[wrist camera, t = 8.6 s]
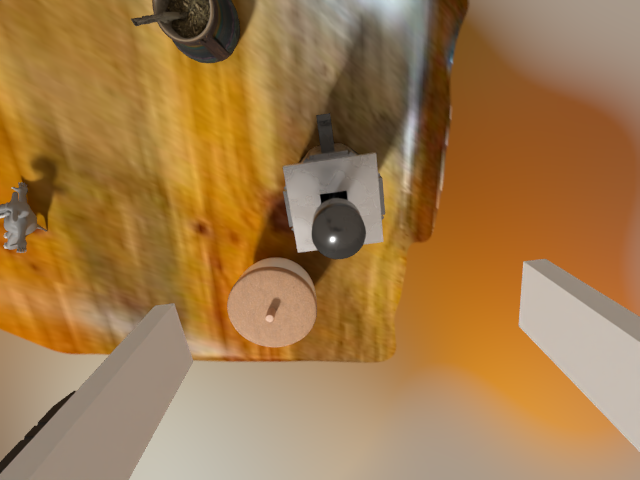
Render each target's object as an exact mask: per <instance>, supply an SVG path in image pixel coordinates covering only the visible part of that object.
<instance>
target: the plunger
mask: <svg viewBox="0 0 640 480" xmlns="http://www.w3.org/2000/svg"><path fill="white" fill-rule="evenodd" d="M320 197H321V205H320V206H319V207H318V208H317V210H316V211H315V213H314V217H313V224H312V241H313V243H314V245H315V247H316V248H317V250H318V251H319V252H320V253H321V254H323V255H324V256H326V257H329V258H332V259H344V258H348V257H350V256H352V255H354V254H355V253H357V252H358V251H359V250H360V248H361V247H362V246H363V244H364V241H365V238H366V229H365V225H364V222H363V220H362V217H361V215H360V212H359V210H358V209H357V207H356V206H355V205H354V204H353V203H351V202H350V201H348V200H347V192H346V191H340V192H333V193H325V194H320Z"/></svg>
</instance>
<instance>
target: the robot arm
mask: <svg viewBox="0 0 640 480" xmlns="http://www.w3.org/2000/svg"><path fill="white" fill-rule="evenodd" d="M519 327H520V328H521V329H522V330H523V331H524V332H525V333H526V334H527V335H528V336H529V337H530V338H531V339H532V340H533V341H534V342H535V343H536V344H537V345H538V346H539V347H540V349H542V351H544V353H545V354H546V355H547V356H548V357H549V358H550V359H551V360H552V361H553V362H554V363H555V364H556V365H557V366H558V367H559V368H560V369H561V370H562V371H563V372H564V373H565V375H566V376H567V377H568V378H569V379H570V380H571V381H572V382H573V383H574V384H575V385H576V386H577V387H578V388H579V389H580V390H581V391H582V392H583V393H584V394H585V395H586V396H587V397H588V398H589V399H590V401H592V403H593V404H594V405H595V406H596V407H597V408H598V409H599V410H600V411H601V412H602V413H603V414H604V415H605V416H606V417H607V418H608V419H609V420H610V421H611V422H612V424H613V425H615V427H616V428H617V429H618V430H619V431H620V432H621V433H622V434H623V435H624V436H625V437H626V438H627V439H628V440H629V441H630V442H631V443H632V444H633V445H634V446H635V447H636V448H637V449H638V451H639V452H640V317H639V316H637V315H636V314H634V313H632V312H631V311H629V310H628V309H626V308H624V307H623V306H621V305H619V304H618V303H616V302H615V301H613V300H611V299H610V298H608V297H607V296H605V295H603V294H602V293H600V292H598V291H597V290H595V289H594V288H592V287H590V286H589V285H587V284H585V283H584V282H582V281H580V280H579V279H577V278H576V277H574V276H572V275H571V274H569V273H567V272H566V271H564V270H563V269H561V268H559V267H558V266H556V265H554V264H553V263H551V262H550V261H548V260H546V259H540V260H532V261H524V263H523V275H522V289H521V302H520V315H519ZM192 363H193V359H192V356H191V353H190V350H189V347H188V344H187V341H186V338H185V335H184V332H183V329H182V326H181V323H180V320H179V317H178V314H177V311H176V308H175V305H174V304H166V305H158V306H154V307H153V308H152V310H151V311H150V312H149V313H148V314H147V315H146V316H145V317H144V318H143V319H142V320H141V321H140V323H139V324H138V325H137V326H136V327H135V328H134V329H133V330H132V331H131V332H130V333H129V335H128V336H127V337H126V338H125V339H124V340H123V341H122V342H121V343H120V344H119V345H118V346H117V348H116V349H115V350H114V351H113V352H112V353H111V354H110V355H109V356H108V358H106V360H105V361H104V362H103V363H102V364H101V365H100V366H99V367H98V368H97V369H96V370H95V372H94V373H93V374H92V375H91V376H90V377H89V378H88V379H87V380H86V381H85V382H84V383H83V384H82V386H81V387H80V388H79V389H78V390H77V391H73V392H72V393H70V394H69V395H68V396H66V397H65V398H64V399H62V400H61V401H60V402H58V403H57V404H56V405H54V406H53V407H52V408H51V409H50V410H49V411H48V412H47V413H46V415H45V416H44V417H43V418H42V419H41V420H40V421H39V422H38V425H37V426H34V427H33V428H32V429H31V430H30V431H29V432H28V433H27V434H26V436H25V438H24V440H21V441H20V442H19V443H18V444H17V445H16V446H15V447H14V448H13V449H12V450H11V451H10V452H9V453H8V454H7V455H6V456H5V458H4V459H3V460H2V461H1V462H0V480H129V478H130V476H131V474H132V472H133V471H134V469H135V467H136V465H137V463H138V462H139V460H140V458H141V456H142V454H143V452H144V451H145V449H146V447H147V445H148V443H149V441H150V440H151V438H152V436H153V434H154V432H155V430H156V429H157V427H158V425H159V423H160V421H161V419H162V418H163V416H164V414H165V412H166V410H167V408H168V407H169V405H170V403H171V401H172V399H173V398H174V396H175V394H176V392H177V390H178V388H179V386H180V385H181V383H182V381H183V379H184V377H185V376H186V374H187V372H188V370H189V368H190V366H191V365H192Z"/></svg>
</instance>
